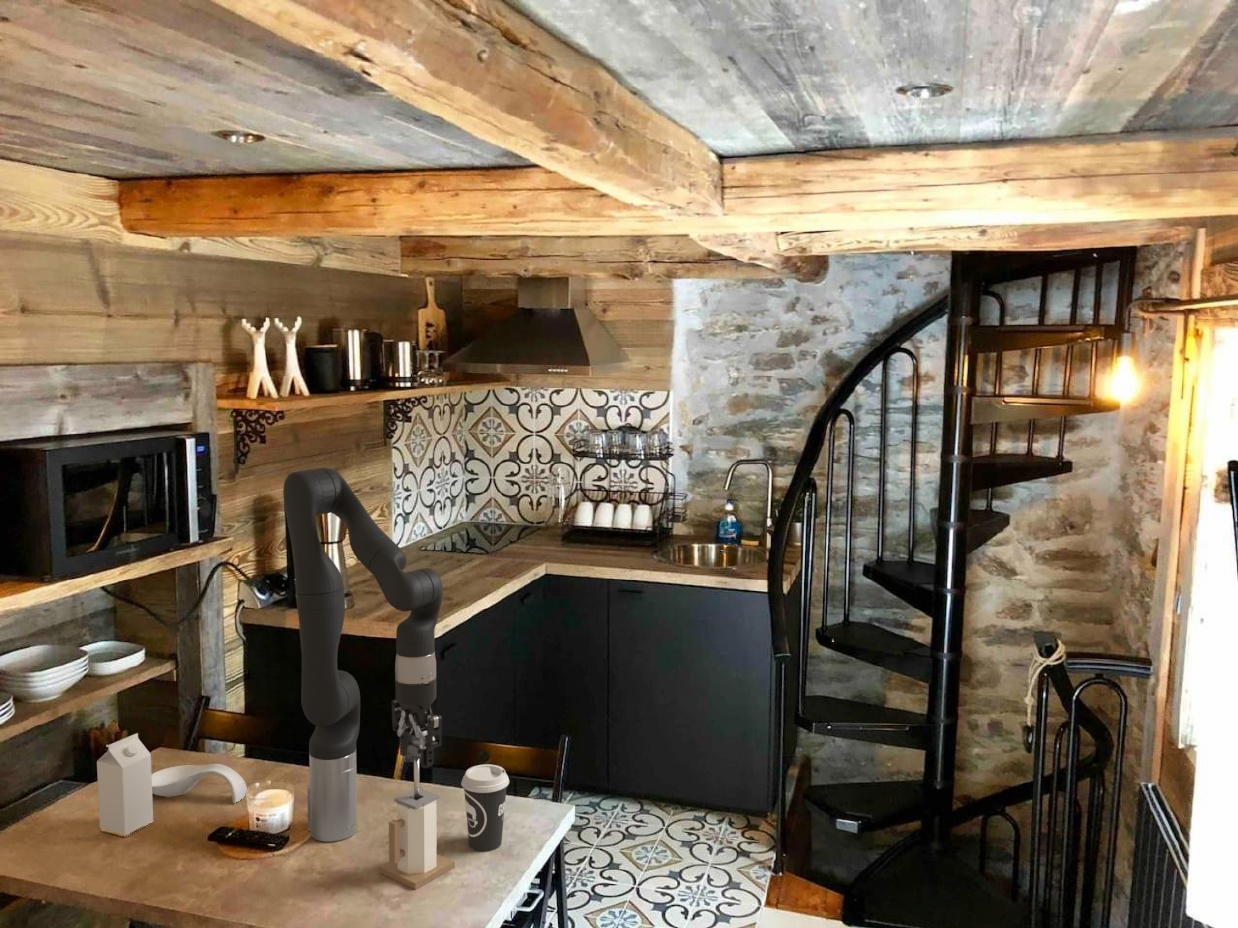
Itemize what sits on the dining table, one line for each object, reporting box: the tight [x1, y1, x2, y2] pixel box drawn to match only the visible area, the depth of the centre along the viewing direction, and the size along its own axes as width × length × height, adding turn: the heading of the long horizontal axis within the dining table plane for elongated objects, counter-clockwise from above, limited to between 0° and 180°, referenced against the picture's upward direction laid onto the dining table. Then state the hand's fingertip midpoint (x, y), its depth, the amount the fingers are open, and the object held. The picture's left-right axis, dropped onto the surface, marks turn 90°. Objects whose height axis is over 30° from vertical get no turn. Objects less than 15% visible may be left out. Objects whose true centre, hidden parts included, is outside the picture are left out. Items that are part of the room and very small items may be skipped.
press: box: [379, 787, 456, 890], centre depth 188 cm, size 10×11×15 cm
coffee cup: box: [460, 763, 510, 852], centre depth 199 cm, size 10×10×15 cm
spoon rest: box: [151, 763, 248, 804], centre depth 220 cm, size 24×12×7 cm, turn 77°
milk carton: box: [96, 732, 154, 835], centre depth 204 cm, size 7×7×19 cm
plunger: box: [406, 739, 422, 800], centre depth 187 cm, size 5×5×14 cm
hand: (416, 760), depth 187 cm, fingers open, 7 cm apart
